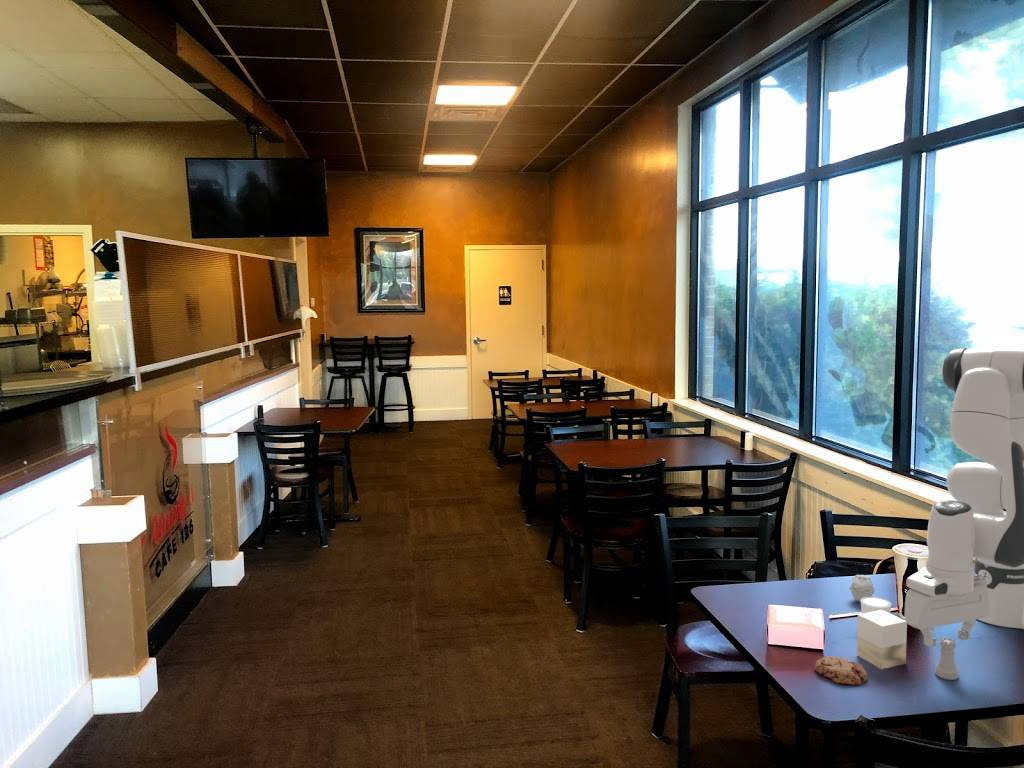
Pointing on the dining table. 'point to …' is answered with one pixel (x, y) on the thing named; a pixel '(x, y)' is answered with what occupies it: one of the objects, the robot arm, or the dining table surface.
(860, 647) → the lower block
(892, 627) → the upper block
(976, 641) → the dining table surface
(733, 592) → the dining table surface
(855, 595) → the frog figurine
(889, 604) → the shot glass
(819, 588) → the dining table surface
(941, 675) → the rook chess piece
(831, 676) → the cookie
